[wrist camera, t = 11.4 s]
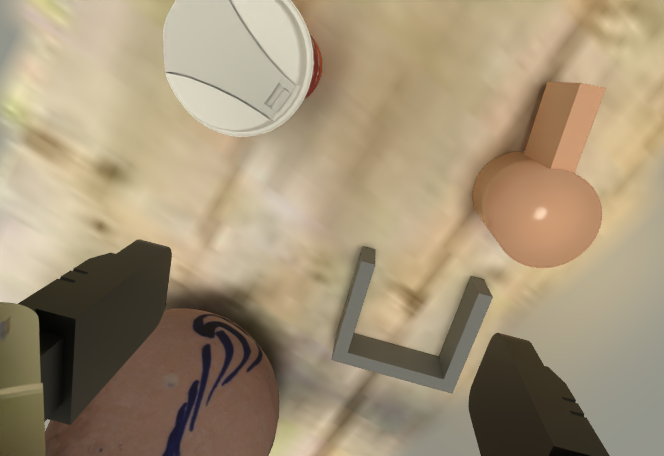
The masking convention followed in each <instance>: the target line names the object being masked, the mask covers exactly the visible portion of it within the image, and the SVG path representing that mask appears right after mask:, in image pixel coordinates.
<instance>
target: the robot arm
mask: <svg viewBox="0 0 664 456" xmlns="http://www.w3.org/2000/svg"><path fill="white" fill-rule="evenodd" d="M171 257H172V253H171V249H170V248H169V247H167V246H163V245H159V244H155V243H151V242H147V241H143V240H136V241H135V242H133V243H132V244H130V245H129V246H127V247H126V248H124V249H123V250H121V251H120V252H118V253H117V254H113V253H108V254H105V255H101V256H98V257H94V258H91V259H88V260H87V261H85V262H83V263H82V264H80V265H79V266H77V267H75V268H74V270H73V271H69V272H68V273H66V274H64V275H63V276H61V278H60V279H56V280H55V281H53V282H52V283H50V284H48V285H47V286H45V287H44V288H42V289H40V290H39V291H37V292H36V293H34V294H33V295H31V296H29V297H28V298H26V299H25V300H23V301H21V302H20V303H18V304H14V303H5V302H0V456H46V451H45V427H44V426H45V425H44V422H45V421H46V420H47V419H49V420H53V421H57V422H61V423H64V424H68V425H71V424H72V423H73V421H74V420H75V419H76V418H77V417H78V416H79V415H80V413H81V412H82V411H83V410H84V409H85V408H86V407H87V406H88V404H89V403H90V402H91V401H92V400H93V399H94V398H95V397H96V395H97V394H98V393H99V392H100V391H101V390H102V389H103V388H104V386H105V385H106V384H107V383H108V382H109V381H110V380H111V379H112V377H113V376H114V375H115V374H116V373H117V372H118V371H119V370H120V368H121V367H122V366H123V365H124V364H125V363H126V362H127V361H128V359H129V358H130V357H131V356H132V355H133V354H134V353H135V351H136V350H137V349H138V348H139V347H140V346H141V345H142V344H143V342H144V341H145V340H146V339H147V338H148V337H149V336H150V335H151V333H152V332H153V331H154V330H155V329H156V327H157V326H158V324H159V322H160V320H161V318H162V316H163V313H164V309H165V305H166V298H167V290H168V282H169V274H170V266H171ZM575 401H576V400H575V398H574V396H573V395H572V393H571V392H570V390H569V389H568V387H567V385H566V384H565V382H563V381H562V380H561V379H560V378H559V377H558V376H557V375H556V374H555V373H554V372H553V371H552V370H551V369H550V368H549V367H546V366H544V365H543V363H542V361H541V360H540V358H539V356H538V354H537V353H536V351H535V349H534V347H533V345H532V344H531V343H530V342H529V341H527V340H523V339H520V338H516V337H512V336H508V335H504V334H500V333H496V334H494V335H493V337H492V338H491V340H490V342H489V344H488V347H487V349H486V352H485V354H484V357H483V359H482V362H481V364H480V366H479V369H478V371H477V374H476V376H475V379H474V381H473V384H472V386H471V390H470V395H469V413H470V417H471V420H472V424H473V428H474V431H475V435H476V439H477V443H478V447H479V450H480V454H481V456H609V454H608V453H607V451H606V449H605V448H604V446H603V444H602V443H601V441H600V439H599V438H598V436H597V434H596V433H595V431H594V429H593V428H592V426H591V425H590V423H589V421H588V420H587V418H585V417H584V413H583V411H582V410H581V408H580V406H579V405H578V404H577V403H575Z"/></svg>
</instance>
